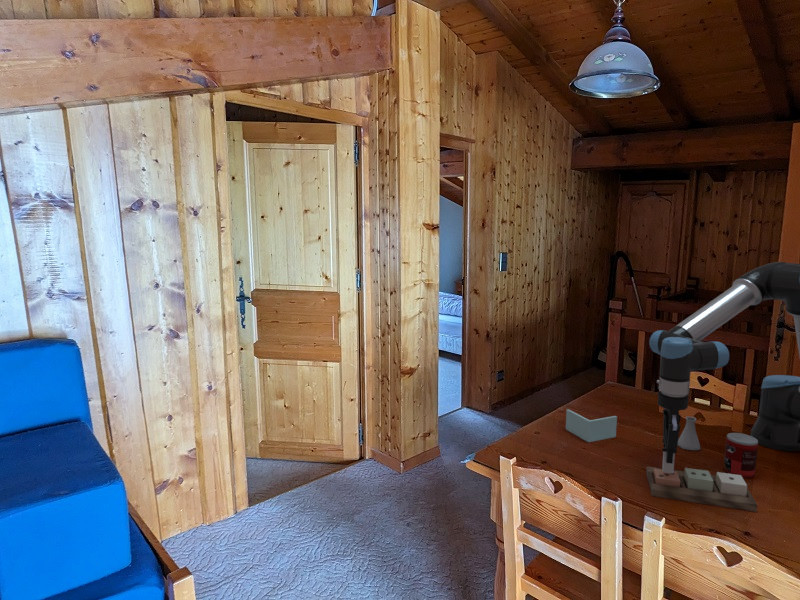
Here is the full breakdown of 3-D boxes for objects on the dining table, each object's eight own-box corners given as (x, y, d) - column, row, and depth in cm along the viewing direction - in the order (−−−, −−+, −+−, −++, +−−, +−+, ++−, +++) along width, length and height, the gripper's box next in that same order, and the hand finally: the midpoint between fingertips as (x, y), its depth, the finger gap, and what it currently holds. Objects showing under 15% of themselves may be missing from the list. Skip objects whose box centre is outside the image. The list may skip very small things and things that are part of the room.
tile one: (739, 485, 146) (741, 474, 145) (746, 496, 140) (747, 485, 140) (715, 482, 148) (716, 471, 147) (720, 493, 142) (721, 481, 142)
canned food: (725, 463, 163) (728, 430, 161) (756, 471, 158) (759, 437, 156) (721, 472, 157) (724, 438, 155) (753, 481, 152) (756, 445, 150)
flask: (704, 452, 171) (706, 423, 169) (680, 450, 172) (682, 421, 170) (696, 442, 178) (699, 415, 176) (673, 441, 179) (675, 413, 177)
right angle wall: (615, 436, 183) (617, 416, 182) (588, 442, 179) (589, 421, 177) (592, 424, 194) (593, 405, 193) (565, 429, 190) (566, 409, 188)
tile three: (675, 481, 151) (676, 471, 151) (679, 491, 146) (680, 481, 145) (653, 478, 153) (653, 468, 153) (655, 488, 148) (656, 477, 147)
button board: (741, 485, 149) (742, 479, 149) (756, 511, 136) (757, 504, 136) (645, 472, 157) (646, 466, 157) (651, 495, 144) (652, 489, 144)
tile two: (707, 481, 148) (708, 470, 148) (712, 491, 143) (713, 480, 142) (683, 478, 150) (684, 467, 150) (687, 488, 145) (688, 477, 144)
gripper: (655, 384, 152) (650, 459, 156) (661, 399, 140) (656, 480, 144) (684, 386, 150) (678, 463, 154) (693, 402, 138) (686, 484, 142)
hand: (667, 471), depth 149 cm, fingers closed
